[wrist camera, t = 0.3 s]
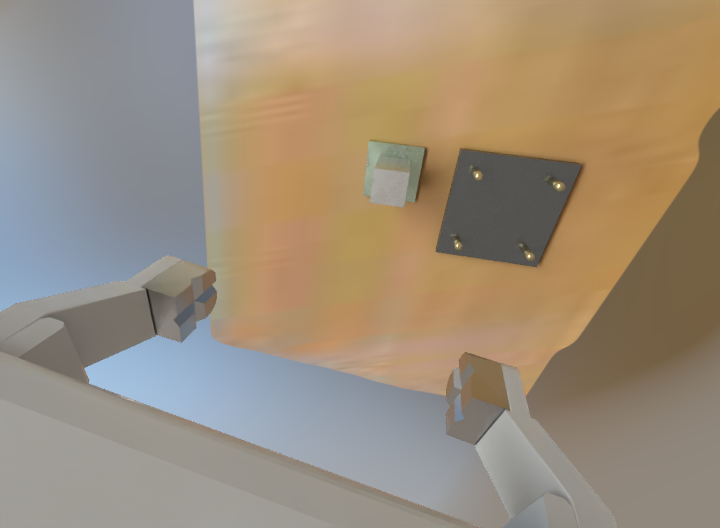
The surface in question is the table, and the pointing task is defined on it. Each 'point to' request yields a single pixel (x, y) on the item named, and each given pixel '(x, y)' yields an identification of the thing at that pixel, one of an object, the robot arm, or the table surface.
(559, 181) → the mounting plate
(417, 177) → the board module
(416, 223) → the table surface
